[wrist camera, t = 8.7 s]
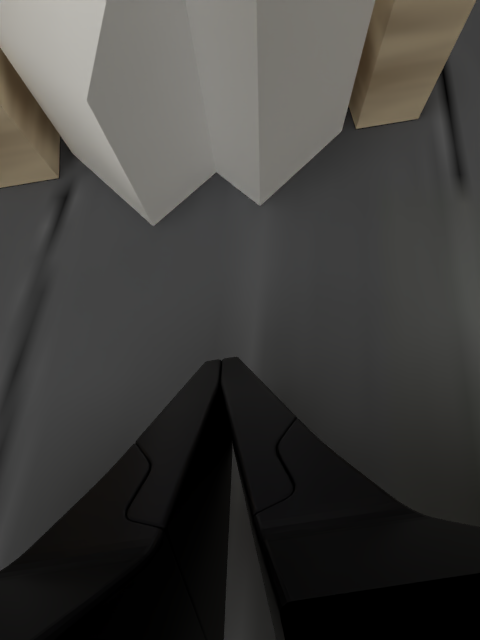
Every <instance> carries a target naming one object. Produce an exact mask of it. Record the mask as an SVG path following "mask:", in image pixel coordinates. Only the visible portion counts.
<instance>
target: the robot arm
mask: <svg viewBox="0 0 480 640" xmlns="http://www.w3.org/2000/svg"><path fill="white" fill-rule="evenodd" d="M232 443H233V448H234V452H235V457H236V461H237V466H238V470H239V475H240V479H241V484H242V488H243V493H244V497H245V501H246V506H247V510H248V515H249V519H250V524H251V528H252V533H253V537H254V542H255V546H256V551H257V555H258V560H259V564H260V568H261V573H262V577H263V582H264V586H265V591H266V595H267V600H268V604H269V609H270V613H271V618H272V622H273V626H274V631H275V635H276V640H480V527H476V526H471V525H466V524H461V523H456V522H451V521H446V520H442V519H437V518H432V517H429V516H426V515H423V514H420V513H418V512H416V511H414V510H412V509H410V508H408V507H407V506H405V505H404V504H402V503H400V502H399V501H397V500H396V499H395V498H393V497H392V496H390V495H389V494H388V493H386V492H385V491H384V490H383V489H381V488H380V487H379V486H377V485H376V484H375V483H373V482H372V481H371V480H370V479H368V478H367V477H366V476H364V475H363V474H362V473H361V472H359V471H358V470H357V469H355V468H354V467H353V466H351V465H350V464H349V463H348V462H346V461H345V460H344V459H342V458H341V457H340V456H339V455H337V454H336V453H335V452H334V451H333V450H331V449H330V448H329V447H328V446H326V445H325V444H324V443H323V442H322V441H321V440H319V439H318V438H317V437H316V436H315V435H314V434H313V433H312V432H311V431H310V430H309V429H308V428H307V427H306V426H305V425H304V424H303V423H302V422H301V421H300V420H299V419H297V417H296V416H295V415H294V414H293V413H292V412H291V411H290V410H289V409H288V408H287V407H286V406H285V405H284V404H283V403H282V402H281V401H280V400H279V399H278V398H277V397H276V396H275V395H274V394H273V393H272V392H271V390H270V389H269V388H268V387H267V386H266V385H265V384H264V383H263V382H262V381H261V380H260V379H259V378H258V377H257V376H256V375H255V374H254V373H253V372H252V371H251V370H250V369H249V368H248V367H247V366H246V365H245V364H244V363H243V362H242V361H241V360H240V359H239V358H238V357H231V358H225V359H223V360H222V361H221V360H212V361H207V362H205V363H204V364H203V365H202V366H201V367H200V369H199V370H198V371H197V372H196V373H195V374H194V375H193V377H192V378H191V379H190V380H189V381H188V382H187V383H186V385H185V386H184V387H183V388H182V389H181V390H180V391H179V393H178V394H177V395H176V396H175V397H174V398H173V399H172V401H171V402H170V403H169V404H168V405H167V406H166V407H165V409H164V410H163V411H162V412H161V413H160V414H159V415H158V417H157V418H156V419H155V420H154V421H153V422H152V423H151V425H150V426H149V427H148V428H147V429H146V430H145V431H144V433H143V434H142V435H141V436H140V437H139V438H138V439H137V441H136V444H133V445H132V446H131V447H130V448H129V450H128V451H127V452H126V453H125V454H124V455H123V456H122V457H121V458H120V460H119V461H118V462H117V463H116V464H115V465H114V466H113V467H112V468H111V469H110V470H109V472H108V473H107V474H106V475H105V476H104V477H103V478H102V479H101V480H100V481H99V482H98V483H97V484H96V485H95V486H94V487H93V488H92V489H91V490H90V491H89V492H88V493H87V494H86V495H85V496H83V497H82V498H81V499H80V500H79V501H78V502H77V503H76V504H75V505H74V506H73V507H72V508H71V509H70V510H69V511H68V512H67V513H66V514H65V515H64V516H63V517H62V518H61V519H59V520H58V521H57V522H56V523H55V524H54V525H53V526H52V527H51V528H50V529H49V530H48V531H47V532H46V533H45V534H44V535H43V536H42V537H41V538H40V539H39V540H38V541H37V542H35V543H34V544H33V545H32V546H31V547H30V548H29V549H28V550H27V551H26V552H25V553H24V554H22V555H21V556H20V557H19V558H18V559H16V560H15V561H14V562H13V563H11V564H10V565H9V566H7V567H6V568H4V569H3V570H1V571H0V640H224V622H225V600H226V578H227V556H228V534H229V513H230V491H231V469H232Z"/></svg>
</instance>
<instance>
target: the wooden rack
mask: <svg viewBox="0 0 480 640" xmlns="http://www.w3.org/2000/svg"><path fill="white" fill-rule="evenodd" d="M475 2H476V0H375V4H374V8H373V12H372V15H371V19H370V23H369V27H368V31H367V35H366V39H365V43H364V47H363V50H362V54H361V58H360V62H359V66H358V70H357V74H356V78H355V82H354V86H353V89H352V93H351V97H350V101H349V105H348V106H349V109H350V112H351V115H352V118H353V121H354V124H355V127H356V129H359V128H365V127H371V126H377V125H383V124H389V123H395V122H402V121H408V120H414V119H418V118H419V116H420V114H421V112H422V110H423V108H424V106H425V104H426V102H427V100H428V98H429V96H430V94H431V92H432V90H433V88H434V86H435V84H436V82H437V79H438V77H439V75H440V73H441V71H442V69H443V67H444V65H445V63H446V61H447V59H448V57H449V55H450V53H451V51H452V49H453V47H454V45H455V43H456V41H457V39H458V37H459V35H460V32H461V30H462V28H463V26H464V24H465V22H466V20H467V18H468V16H469V14H470V12H471V10H472V8H473V6H474V4H475ZM59 158H60V135H59V133H58V132H57V130H56V129H55V127H54V126H53V124H52V123H51V121H50V120H49V118H48V117H47V115H46V114H45V113H44V111H43V110H42V108H41V107H40V105H39V104H38V102H37V101H36V99H35V98H34V96H33V95H32V94H31V92H30V91H29V89H28V88H27V86H26V85H25V83H24V82H23V80H22V79H21V77H20V76H19V74H18V73H17V72H16V70H15V69H14V67H13V66H12V64H11V63H10V61H9V60H8V58H7V57H6V55H5V54H4V52H3V51H2V50H1V48H0V188H2V187H8V186H14V185H20V184H26V183H32V182H38V181H44V180H50V179H56V178H59Z"/></svg>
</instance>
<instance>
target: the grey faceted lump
mask: <svg viewBox="0 0 480 640" xmlns="http://www.w3.org/2000/svg"><path fill="white" fill-rule="evenodd" d="M374 4H375V0H0V48H1V50H2V51H3V52H4V54H5V55H6V57H7V58H8V60H9V61H10V63H11V64H12V66H13V67H14V69H15V70H16V72H17V73H18V74H19V76H20V77H21V79H22V80H23V82H24V83H25V85H26V86H27V88H28V89H29V91H30V92H31V94H32V95H33V96H34V98H35V99H36V101H37V102H38V104H39V105H40V107H41V108H42V110H43V111H44V113H45V114H46V115H47V117H48V118H49V120H50V121H51V123H52V124H53V126H54V127H55V129H56V130H57V132H58V133H59V135H60V136H61V137H62V139H63V140H64V142H65V143H66V145H67V146H68V148H69V149H70V151H71V152H72V154H73V155H75V156H76V157H77V158H78V159H79V160H80V161H81V162H82V163H84V164H85V165H86V166H87V167H88V168H89V169H90V170H91V171H92V172H94V173H95V174H96V175H97V176H98V177H99V178H100V179H101V180H102V181H104V182H105V183H106V184H107V185H108V186H109V187H110V188H111V189H112V190H114V191H115V192H116V193H117V194H118V195H119V196H120V197H121V198H122V199H124V200H125V201H126V202H127V203H128V204H129V205H130V206H131V207H132V208H134V209H135V210H136V211H137V212H138V213H139V214H140V215H141V216H143V217H144V218H145V219H146V220H147V221H148V222H149V223H150V224H151V225H153V226H154V225H156V224H157V223H158V222H159V221H160V220H161V219H163V218H164V217H165V216H166V215H167V214H168V213H170V212H171V211H172V210H173V209H174V208H175V207H176V206H178V205H179V204H180V203H181V202H182V201H183V200H185V199H186V198H187V197H188V196H189V195H190V194H192V193H193V192H194V191H195V190H196V189H197V188H198V187H200V186H201V185H202V184H203V183H204V182H205V181H207V180H208V179H209V178H210V177H211V176H212V175H214V174H215V173H216V172H217V173H218V174H219V175H221V176H222V177H223V178H225V179H226V180H227V181H228V182H230V183H231V184H232V185H234V186H235V187H236V188H237V189H239V190H240V191H241V192H243V193H244V194H245V195H246V196H248V197H249V198H250V199H252V200H253V201H254V202H255V203H257V204H258V205H259V206H261V205H262V204H263V203H264V202H265V201H266V200H267V199H268V198H269V197H271V196H272V195H273V194H274V193H275V192H276V191H277V190H278V189H279V188H280V187H281V186H283V185H284V184H285V183H286V182H287V181H288V180H289V179H290V178H291V177H292V176H293V175H295V174H296V173H297V172H298V171H299V170H300V169H301V168H302V167H303V166H304V165H305V164H307V163H308V162H309V161H310V160H311V159H312V158H313V157H314V156H315V155H316V154H317V153H319V152H320V151H321V150H322V149H323V148H324V147H325V146H326V145H327V144H328V143H329V142H330V141H332V140H333V139H334V138H335V137H336V136H337V135H338V134H339V133H340V132H341V131H342V128H343V124H344V121H345V117H346V113H347V109H348V105H349V101H350V97H351V93H352V89H353V86H354V82H355V78H356V74H357V70H358V66H359V62H360V58H361V54H362V50H363V47H364V43H365V39H366V35H367V31H368V27H369V23H370V19H371V15H372V12H373V8H374Z"/></svg>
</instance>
